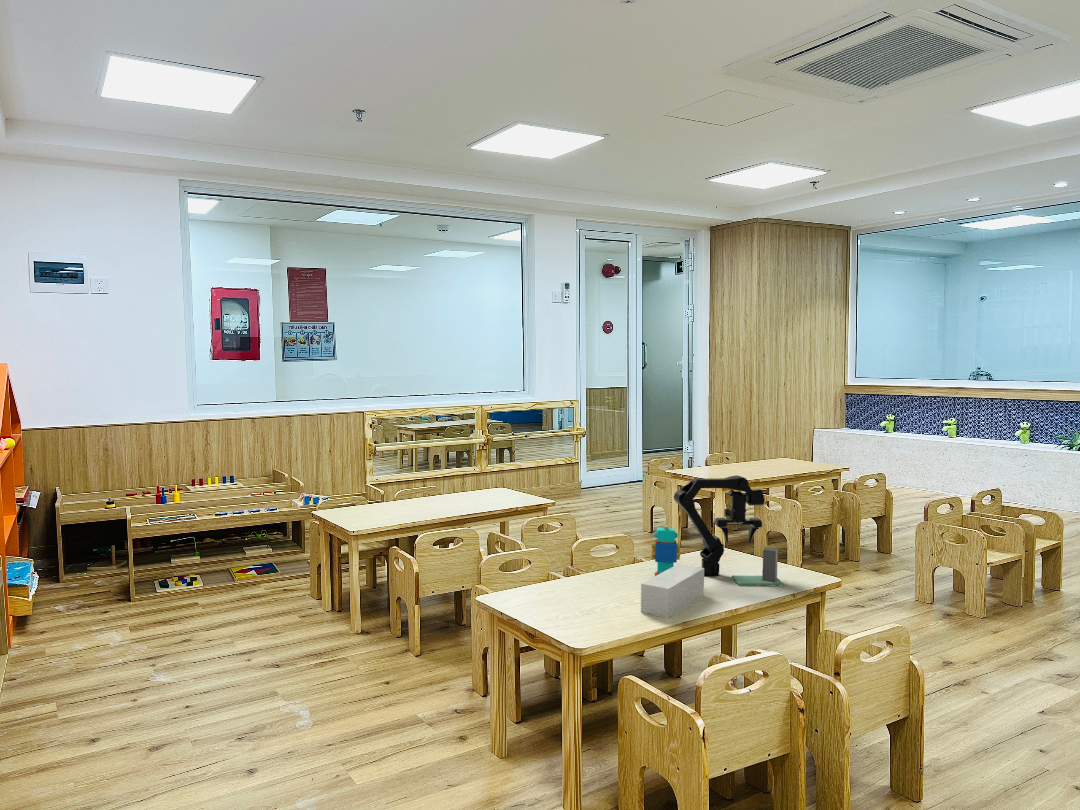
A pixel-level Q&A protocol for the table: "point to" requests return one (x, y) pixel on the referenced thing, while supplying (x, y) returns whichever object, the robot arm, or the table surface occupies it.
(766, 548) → the block
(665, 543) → the toy robot
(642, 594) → the stack of papers
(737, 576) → the board
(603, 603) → the table surface
